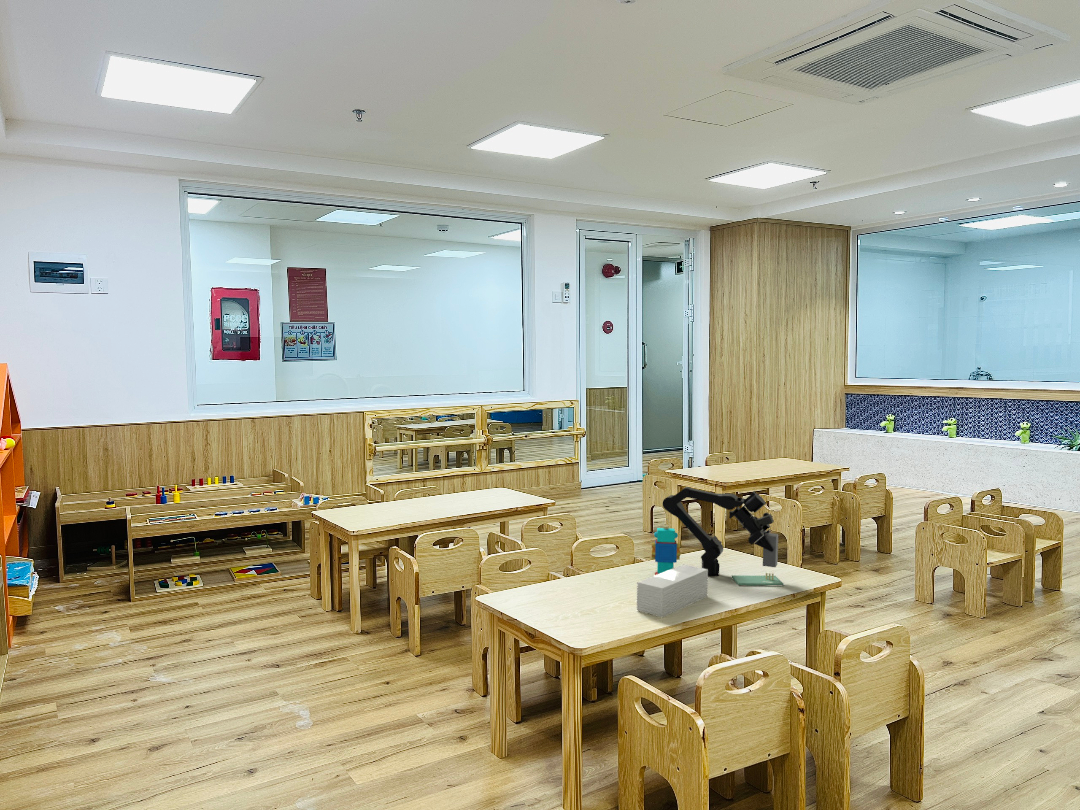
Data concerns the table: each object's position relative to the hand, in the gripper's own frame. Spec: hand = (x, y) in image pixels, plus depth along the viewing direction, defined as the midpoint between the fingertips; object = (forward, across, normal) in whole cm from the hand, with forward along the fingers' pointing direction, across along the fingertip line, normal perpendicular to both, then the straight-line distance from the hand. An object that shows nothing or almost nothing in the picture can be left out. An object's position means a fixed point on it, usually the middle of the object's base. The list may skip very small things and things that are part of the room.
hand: (774, 549), depth 318 cm
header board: (+5, -2, +14) cm, 15 cm away
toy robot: (-19, -16, +38) cm, 45 cm away
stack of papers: (-10, -44, +30) cm, 55 cm away
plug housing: (+4, 0, +6) cm, 7 cm away
